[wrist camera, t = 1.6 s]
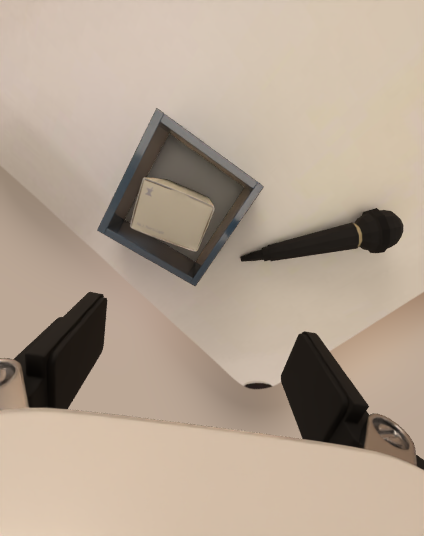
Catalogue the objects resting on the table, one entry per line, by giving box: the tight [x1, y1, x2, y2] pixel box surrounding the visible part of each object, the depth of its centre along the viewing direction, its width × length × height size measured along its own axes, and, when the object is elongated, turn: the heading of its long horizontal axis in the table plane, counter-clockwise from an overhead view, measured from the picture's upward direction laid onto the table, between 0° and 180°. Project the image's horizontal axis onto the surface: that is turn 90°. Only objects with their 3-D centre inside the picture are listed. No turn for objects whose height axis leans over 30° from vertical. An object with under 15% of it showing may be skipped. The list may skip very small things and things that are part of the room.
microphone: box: [240, 208, 403, 261], centre depth 31 cm, size 6×6×20 cm
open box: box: [97, 108, 264, 286], centre depth 27 cm, size 13×14×6 cm
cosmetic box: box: [130, 177, 215, 252], centre depth 25 cm, size 6×4×12 cm
